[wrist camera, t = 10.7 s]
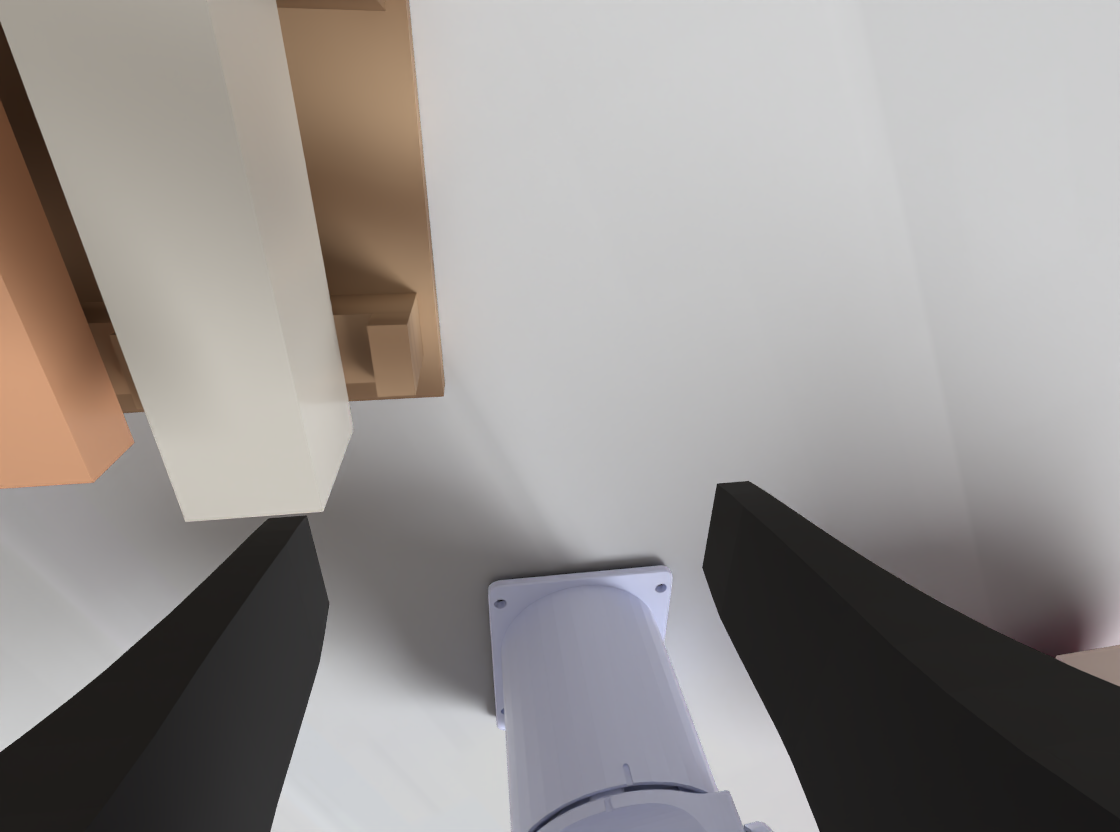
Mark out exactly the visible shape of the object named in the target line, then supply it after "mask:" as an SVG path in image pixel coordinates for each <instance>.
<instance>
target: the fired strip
mask: <svg viewBox="0 0 1120 832" xmlns="http://www.w3.org/2000/svg"><path fill="white" fill-rule="evenodd" d="M133 444H134V440H133V438H132V435H131V433H130V430H129V427H128V425H127V422H126V420H125V417H124V415H123V412H122V409H121V407H120V404H119V402H118V399H117V397H116V394H115V392H114V389H113V386H112V384H111V381H110V379H109V376H108V374H107V371H106V368H105V366H104V363H103V361H102V358H101V356H100V353H99V351H98V348H97V345H96V343H95V340H94V338H93V335H92V333H91V330H90V328H89V325H88V322H87V320H86V317H85V315H84V312H83V310H82V307H81V304H80V302H79V299H78V297H77V294H76V292H75V289H74V287H73V284H72V281H71V279H70V276H69V274H68V271H67V269H66V266H65V263H64V261H63V258H62V256H61V253H60V251H59V248H58V246H57V243H56V240H55V238H54V235H53V233H52V230H51V228H50V225H49V222H48V220H47V217H46V215H45V212H44V210H43V207H42V205H41V202H40V199H39V197H38V194H37V192H36V189H35V187H34V184H33V181H32V179H31V176H30V174H29V171H28V169H27V166H26V164H25V161H24V158H23V156H22V153H21V151H20V148H19V146H18V143H17V141H16V138H15V135H14V133H13V130H12V128H11V125H10V123H9V120H8V117H7V115H6V112H5V110H4V107H3V105H2V102H1V100H0V489H4V488H19V487H34V486H49V485H65V484H80V483H94V482H95V481H96V480H97V479H98V478H99V477H100V476H101V475H102V474H103V473H104V472H105V471H106V470H107V469H108V468H109V467H110V466H111V465H112V464H113V463H114V462H115V461H116V460H117V459H118V458H119V457H120V456H121V455H122V454H123V453H124V452H125V451H126V450H128V449H129V448H130V447H131V446H132V445H133Z"/></svg>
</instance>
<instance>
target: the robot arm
mask: <svg viewBox="0 0 1120 832" xmlns="http://www.w3.org/2000/svg"><path fill="white" fill-rule="evenodd" d="M702 568H703V571H704V574H705V577H706V580H707V583H708V585H709V588H710V591H711V594H712V597H713V600H714V602H715V605H716V608H717V610H718V613H719V616H720V618H721V620H722V622H723V624H724V626H725V629H726V631H727V633H728V635H729V637H730V639H731V641H732V643H733V645H734V647H735V649H736V651H737V653H738V654H739V656H740V658H741V660H742V662H743V664H744V666H745V668H746V670H747V672H748V674H749V676H750V678H751V680H752V682H753V684H754V686H755V688H756V690H757V692H758V694H759V696H760V698H761V699H762V701H763V703H764V705H765V707H766V709H767V711H768V713H769V715H770V717H771V719H772V721H773V723H774V725H775V727H776V729H777V731H778V733H779V735H780V737H781V739H782V741H783V743H784V746H785V748H786V750H787V752H788V754H789V756H790V758H791V761H792V763H793V765H794V768H795V770H796V773H797V775H798V778H799V780H800V783H801V785H802V788H803V790H804V793H805V795H806V798H807V801H808V803H809V806H810V808H811V811H812V813H813V816H814V818H815V821H816V823H817V826H818V828H819V831H820V832H1120V686H1118V685H1115V684H1113V683H1110V682H1108V681H1106V680H1103V679H1101V678H1098V677H1096V676H1093V675H1091V674H1089V673H1086V672H1084V671H1082V670H1079V669H1077V668H1075V667H1073V666H1070V665H1068V664H1066V663H1064V662H1061V661H1059V660H1057V659H1055V658H1053V657H1050V656H1048V655H1046V654H1044V653H1041V652H1039V651H1037V650H1035V649H1033V648H1030V647H1028V646H1026V645H1024V644H1022V643H1019V642H1017V641H1015V640H1013V639H1011V638H1009V637H1007V636H1005V635H1003V634H1001V633H999V632H997V631H995V630H993V629H991V628H989V627H987V626H985V625H983V624H981V623H979V622H977V621H975V620H973V619H971V618H969V617H967V616H966V615H964V614H962V613H960V612H958V611H956V610H954V609H952V608H950V607H948V606H946V605H944V604H942V603H941V602H939V601H937V600H935V599H933V598H932V597H930V596H928V595H926V594H924V593H923V592H921V591H919V590H917V589H916V588H914V587H912V586H911V585H909V584H907V583H906V582H904V581H902V580H901V579H899V578H897V577H896V576H894V575H892V574H891V573H889V572H887V571H886V570H884V569H882V568H880V567H879V566H877V565H876V564H874V563H872V562H871V561H869V560H868V559H866V558H865V557H863V556H861V555H860V554H858V553H857V552H855V551H854V550H852V549H850V548H849V547H847V546H846V545H844V544H843V543H841V542H840V541H838V540H837V539H835V538H834V537H832V536H831V535H829V534H828V533H826V532H825V531H823V530H822V529H820V528H819V527H817V526H816V525H814V524H813V523H811V522H810V521H808V520H807V519H805V518H804V517H802V516H801V515H800V514H798V513H797V512H795V511H794V510H792V509H791V508H789V507H788V506H786V505H785V504H783V503H782V502H780V501H779V500H777V499H776V498H774V497H773V496H771V495H770V494H768V493H767V492H765V491H764V490H762V489H761V488H759V487H757V486H756V485H754V484H752V483H751V482H749V481H745V482H732V483H719V484H717V487H716V493H715V498H714V504H713V510H712V516H711V521H710V527H709V533H708V538H707V544H706V550H705V556H704V561H703V567H702ZM672 581H673V575H672V572H671V570H670V569H669V567H667V566H663V565H659V566H649V567H638V568H627V569H616V570H605V571H595V572H584V573H573V574H562V575H551V576H541V577H530V578H519V579H508V580H499V581H495V582H493V583H491V584H490V586H489V587H488V603H489V618H490V632H491V647H492V662H493V676H494V691H495V706H496V721H497V727H498V728H499V729H501V730H505V732H506V749H507V766H508V784H509V801H510V819H511V832H773V831H772V830H771V828H770V827H769V826H768V825H766V824H765V823H764V822H759V821H756V822H752V823H749V824H745V825H744V828H743V825H742V823H741V820H740V817H739V815H738V812H737V810H736V807H735V804H734V802H733V799H732V797H731V794H730V792H729V791H727V790H724V791H720V792H719V791H718V788H717V785H716V783H715V780H714V777H713V775H712V772H711V769H710V766H709V764H708V761H707V758H706V756H705V753H704V750H703V747H702V745H701V742H700V739H699V737H698V734H697V731H696V728H695V726H694V723H693V720H692V717H691V715H690V712H689V709H688V707H687V704H686V701H685V698H684V696H683V693H682V690H681V688H680V685H679V682H678V679H677V677H676V674H675V671H674V669H673V666H672V663H671V660H670V658H669V655H668V652H667V650H666V647H665V644H664V641H665V634H666V626H667V619H668V611H669V604H670V596H671V588H672ZM659 584H662V585H661V586H657V585H659ZM500 599H502V600H504V601H501V602H498V601H497V600H500ZM328 609H329V601H328V597H327V593H326V589H325V585H324V581H323V577H322V573H321V569H320V566H319V562H318V558H317V554H316V550H315V546H314V542H313V538H312V534H311V530H310V526H309V523H308V519H307V516H295V517H282V518H269V519H267V520H266V521H265V522H264V523H263V524H262V525H261V526H260V527H259V528H258V529H257V530H256V531H255V532H254V533H253V534H252V535H251V536H250V537H248V538H247V539H246V540H245V541H244V542H243V543H242V544H241V545H240V546H239V547H238V548H237V549H236V550H235V551H234V552H233V553H232V554H231V555H230V556H229V557H228V558H227V559H226V560H225V561H224V562H223V563H222V564H221V565H220V566H219V567H218V568H217V569H216V570H215V571H214V572H213V573H212V574H211V575H210V576H209V577H208V578H207V579H206V580H205V581H203V582H202V583H201V584H200V585H199V586H198V587H197V588H196V589H195V590H194V591H193V592H192V593H191V594H190V595H189V596H188V597H187V598H186V599H185V600H184V601H182V602H181V603H180V604H179V605H178V606H177V607H176V608H175V609H174V610H173V611H172V612H171V613H170V614H169V615H168V616H166V617H165V618H164V619H163V620H162V621H161V622H160V623H158V624H157V625H156V626H155V627H154V628H153V629H152V630H151V631H149V632H148V633H147V634H146V635H145V636H144V637H143V638H141V639H140V640H139V641H138V642H137V643H136V644H135V645H133V646H132V647H131V648H130V649H129V650H128V651H127V652H126V653H124V654H123V655H122V656H121V657H120V658H119V659H118V660H116V661H115V662H114V663H113V664H112V665H111V666H110V667H109V668H107V669H106V670H105V671H104V672H103V673H101V674H100V675H99V676H98V677H97V678H95V679H94V680H93V681H92V682H91V683H89V684H88V685H87V686H86V687H84V688H83V689H82V690H81V691H79V692H78V693H77V694H76V695H74V696H73V697H72V698H71V699H69V700H68V701H67V702H66V703H64V704H63V705H62V706H60V707H59V708H58V709H57V710H55V711H54V712H53V713H51V714H50V715H49V716H47V717H46V718H45V719H44V720H42V721H41V722H40V723H38V724H37V725H36V726H34V727H33V728H32V729H31V730H29V731H28V732H27V733H25V734H24V735H23V736H21V737H20V738H19V739H17V740H16V741H15V742H13V743H12V744H11V745H9V746H8V747H7V748H5V749H4V750H3V751H1V752H0V832H270V831H271V827H272V823H273V819H274V815H275V811H276V807H277V804H278V800H279V797H280V793H281V790H282V787H283V784H284V780H285V777H286V774H287V770H288V767H289V764H290V760H291V757H292V754H293V750H294V747H295V744H296V740H297V737H298V734H299V730H300V727H301V724H302V720H303V717H304V714H305V710H306V707H307V704H308V700H309V697H310V693H311V690H312V687H313V683H314V680H315V676H316V673H317V669H318V666H319V662H320V657H321V651H322V646H323V640H324V635H325V628H326V622H327V615H328Z"/></svg>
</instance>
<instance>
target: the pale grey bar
mask: <svg viewBox="0 0 1120 832" xmlns="http://www.w3.org/2000/svg"><path fill="white" fill-rule="evenodd" d="M0 22H1V25H2V27H3V30H4V33H5V35H6V38H7V41H8V44H9V46H10V49H11V52H12V54H13V57H14V60H15V63H16V65H17V68H18V71H19V73H20V76H21V79H22V81H23V84H24V87H25V90H26V92H27V95H28V98H29V100H30V103H31V106H32V108H33V111H34V114H35V117H36V119H37V122H38V125H39V127H40V130H41V133H42V135H43V138H44V141H45V144H46V146H47V149H48V152H49V154H50V157H51V160H52V162H53V165H54V168H55V171H56V173H57V176H58V179H59V181H60V184H61V187H62V190H63V192H64V195H65V198H66V200H67V203H68V206H69V208H70V211H71V214H72V217H73V219H74V222H75V225H76V227H77V230H78V233H79V235H80V238H81V241H82V244H83V246H84V249H85V252H86V254H87V257H88V260H89V262H90V265H91V268H92V271H93V273H94V276H95V279H96V281H97V284H98V287H99V290H100V292H101V295H102V298H103V300H104V303H105V306H106V308H107V311H108V314H109V317H110V319H111V322H112V325H113V327H114V330H115V333H116V335H117V338H118V341H119V344H120V346H121V349H122V352H123V354H124V357H125V360H126V362H127V365H128V368H129V371H130V373H131V376H132V379H133V381H134V384H135V387H136V389H137V392H138V395H139V398H140V400H141V403H142V406H143V408H144V411H145V414H146V417H147V419H148V422H149V425H150V427H151V430H152V433H153V435H154V438H155V441H156V444H157V446H158V449H159V452H160V454H161V457H162V460H163V462H164V465H165V468H166V471H167V473H168V476H169V479H170V481H171V484H172V487H173V489H174V492H175V495H176V498H177V500H178V503H179V506H180V508H181V511H182V514H183V517H184V519H185V522H192V521H206V520H219V519H232V518H246V517H259V516H272V515H286V514H299V513H313V512H323V511H324V509H325V506H326V503H327V500H328V498H329V495H330V492H331V490H332V487H333V484H334V482H335V479H336V476H337V474H338V471H339V468H340V465H341V463H342V460H343V457H344V455H345V452H346V449H347V447H348V444H349V441H350V438H351V436H352V433H353V430H354V427H353V422H352V416H351V411H350V405H349V400H348V394H347V389H346V383H345V378H344V372H343V367H342V361H341V356H340V350H339V345H338V339H337V334H336V328H335V323H334V317H333V312H332V306H331V301H330V295H329V290H328V284H327V279H326V273H325V268H324V262H323V257H322V251H321V246H320V240H319V235H318V229H317V224H316V218H315V213H314V207H313V202H312V196H311V191H310V185H309V180H308V174H307V169H306V163H305V158H304V152H303V147H302V141H301V136H300V130H299V125H298V119H297V114H296V109H295V103H294V98H293V92H292V87H291V81H290V76H289V70H288V65H287V59H286V54H285V48H284V43H283V37H282V32H281V26H280V21H279V15H278V10H277V4H276V0H0Z"/></svg>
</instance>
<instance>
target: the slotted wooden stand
mask: <svg viewBox="0 0 1120 832" xmlns="http://www.w3.org/2000/svg"><path fill="white" fill-rule="evenodd" d="M276 4H277V10H278V15H279V21H280V26H281V32H282V37H283V43H284V48H285V54H286V59H287V65H288V70H289V76H290V81H291V87H292V92H293V98H294V103H295V109H296V114H297V119H298V125H299V130H300V136H301V141H302V147H303V152H304V158H305V163H306V169H307V174H308V180H309V185H310V191H311V196H312V202H313V207H314V213H315V218H316V224H317V229H318V235H319V240H320V246H321V251H322V257H323V262H324V268H325V273H326V279H327V284H328V290H329V295H330V301H331V306H332V312H333V317H334V323H335V328H336V334H337V339H338V345H339V350H340V356H341V361H342V367H343V372H344V378H345V383H346V389H347V394H348V400H349V401H364V400H383V399H403V398H422V397H441V396H444V387H445V381H444V370H443V360H442V349H441V338H440V328H439V317H438V306H437V296H436V285H435V274H434V263H433V253H432V242H431V231H430V221H429V210H428V199H427V189H426V178H425V167H424V157H423V146H422V135H421V125H420V114H419V103H418V93H417V82H416V71H415V61H414V50H413V39H412V28H411V18H410V7H409V0H276ZM0 100H1V102H2V105H3V107H4V110H5V112H6V115H7V117H8V120H9V123H10V125H11V128H12V130H13V133H14V135H15V138H16V141H17V143H18V146H19V148H20V151H21V153H22V156H23V158H24V161H25V164H26V166H27V169H28V171H29V174H30V176H31V179H32V181H33V184H34V187H35V189H36V192H37V194H38V197H39V199H40V202H41V205H42V207H43V210H44V212H45V215H46V217H47V220H48V222H49V225H50V228H51V230H52V233H53V235H54V238H55V240H56V243H57V246H58V248H59V251H60V253H61V256H62V258H63V261H64V263H65V266H66V269H67V271H68V274H69V276H70V279H71V281H72V284H73V287H74V289H75V292H76V294H77V297H78V299H79V302H80V304H81V307H82V310H83V312H84V315H85V317H86V320H87V322H88V325H89V328H90V330H91V333H92V335H93V338H94V340H95V343H96V345H97V348H98V351H99V353H100V356H101V358H102V361H103V363H104V366H105V368H106V371H107V374H108V376H109V379H110V381H111V384H112V386H113V389H114V392H115V394H116V397H117V399H118V402H119V404H120V407H121V409H122V412H123V413H132V412H145V411H144V408H143V406H142V403H141V400H140V398H139V395H138V392H137V389H136V387H135V384H134V381H133V379H132V376H131V373H130V371H129V368H128V365H127V362H126V360H125V357H124V354H123V352H122V349H121V346H120V344H119V341H118V338H117V335H116V333H115V330H114V327H113V325H112V322H111V319H110V317H109V314H108V311H107V308H106V306H105V303H104V300H103V298H102V295H101V292H100V290H99V287H98V284H97V281H96V279H95V276H94V273H93V271H92V268H91V265H90V262H89V260H88V257H87V254H86V252H85V249H84V246H83V244H82V241H81V238H80V235H79V233H78V230H77V227H76V225H75V222H74V219H73V217H72V214H71V211H70V208H69V206H68V203H67V200H66V198H65V195H64V192H63V190H62V187H61V184H60V181H59V179H58V176H57V173H56V171H55V168H54V165H53V162H52V160H51V157H50V154H49V152H48V149H47V146H46V144H45V141H44V138H43V135H42V133H41V130H40V127H39V125H38V122H37V119H36V117H35V114H34V111H33V108H32V106H31V103H30V100H29V98H28V95H27V92H26V90H25V87H24V84H23V81H22V79H21V76H20V73H19V71H18V68H17V65H16V63H15V60H14V57H13V54H12V52H11V49H10V46H9V44H8V41H7V38H6V35H5V33H4V30H3V27H2V25H1V22H0Z"/></svg>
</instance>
